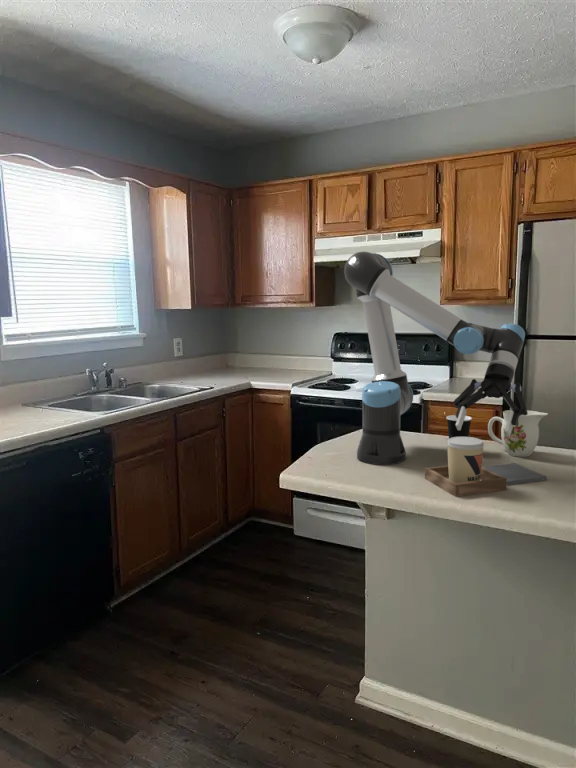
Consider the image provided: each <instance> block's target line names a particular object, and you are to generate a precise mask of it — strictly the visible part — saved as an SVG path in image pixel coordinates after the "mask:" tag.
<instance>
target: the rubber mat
mask: <svg viewBox="0 0 576 768" xmlns="http://www.w3.org/2000/svg"><path fill="white" fill-rule="evenodd" d="M482 467H483V468H485V469H487V470H489V471H491V472H493V473H496V474H498V475H500V476H502V477H504V478H506V479H507V483H506V486H511V485H516V484H524V483H533V481H534V482H540V481H546V480H547V476H546V475H545V474H542V473H540V472H538V471H535V470H533V469H529V468H528V467H526V466H522V465H521V464H518V463H515V462H514V463H513V462H512V463H505V464H497V465H495V464H494V465H487V466H482Z"/></svg>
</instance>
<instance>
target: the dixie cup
mask: <svg viewBox="0 0 576 768" xmlns="http://www.w3.org/2000/svg"><path fill="white" fill-rule="evenodd" d="M445 418H446V420H447V432H448V439H449V438H452V437H470V431H471V430H470V429H471V422H472V420H473V418H472V416H469V415H465V418H464V421H463V424H462V427H461V430H457V428H456V425H455V424H456V422H457V417H456V414H453V415H447V416H446V417H445Z"/></svg>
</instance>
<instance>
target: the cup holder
mask: <svg viewBox="0 0 576 768" xmlns="http://www.w3.org/2000/svg"><path fill="white" fill-rule="evenodd" d="M483 467H484V466H481V474H480V481H472V482H465V483H455V482H453V481H451V480H450V479H449V470H448V465H442V466H441V465H440V466H432V467H425V468H424V479H425V480H427V481H428V482H430V483H431V484H433V485H434V486H436V487H438V488H440V489H442V490H443V491H445V492H447V493H449V494H450V495H452V496H454V497H455V498H456V497H462V496H463V497H465V496H470V495H477V494H484V493H485V492H486V493H492V492H499V491H506V490H507V485H506V483H507V479H506V478H504V477H502V476H500V475H498V474H496V473H493V472H491V471H489V470H487V469H485V468H483ZM481 479H482V480H481ZM486 493H485V494H486Z"/></svg>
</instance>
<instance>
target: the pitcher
mask: <svg viewBox="0 0 576 768" xmlns="http://www.w3.org/2000/svg"><path fill="white" fill-rule="evenodd" d="M510 411H512V410H511V409H509V410H508V409H507V410H504V411H502V415H503V417H500V416H493V417H491V418H490V419H489V421H488V423H487V431H488V435H489V437H490V438H491V439H492V440H493V441H494V442H496V443H498V444H500V445H502V446H503V448H504V450H505V451H506V453H507V454H508V455H510V456H512V457H513V456H514V457H529V456H531V454H532V453H533V452H534V451H535V448H537V445H538V442H539V437H540V427H539V423H540V421H541V420H542V418H544V417H546V416H548V415H549V413H548V412H542V411H541V412H540V411H535V410H528V409H527V413H528V414H527V415H520V416H519V419H518V422H517V425H513V427H512V430H511V434H510V437H507V436H506V433H505V428H506V425H507V422H508V418H509V415H510ZM495 421H496V422H500V424H501V429H500V432H501V433H500V434H501V436H500V437H501V439H500V438H498V437H497V436H496V435H495V433H494V432H493V424H494V422H495Z"/></svg>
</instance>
